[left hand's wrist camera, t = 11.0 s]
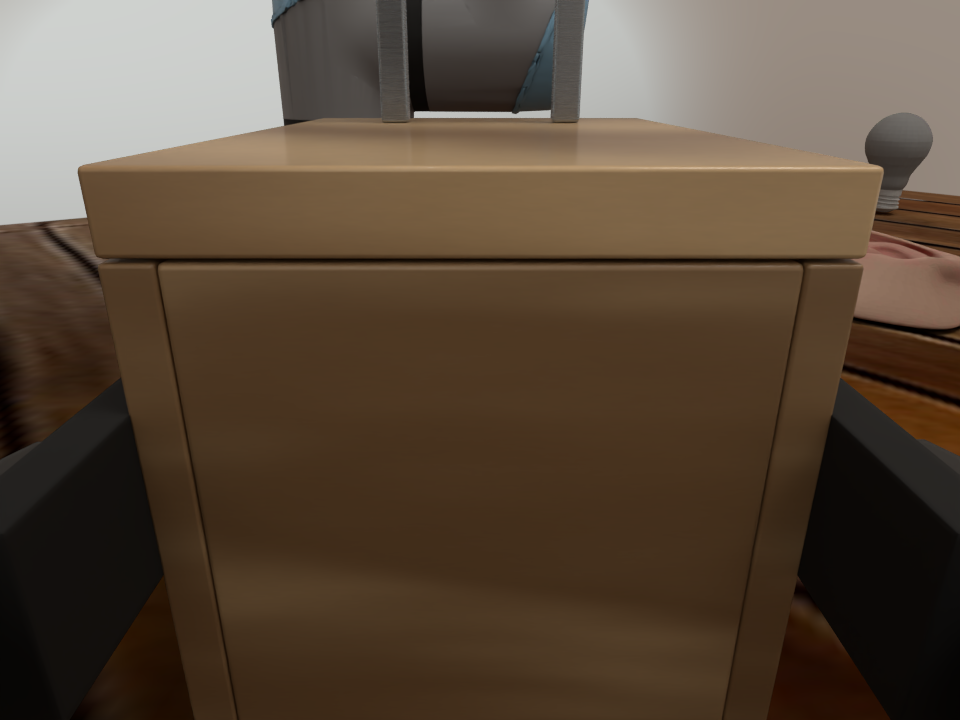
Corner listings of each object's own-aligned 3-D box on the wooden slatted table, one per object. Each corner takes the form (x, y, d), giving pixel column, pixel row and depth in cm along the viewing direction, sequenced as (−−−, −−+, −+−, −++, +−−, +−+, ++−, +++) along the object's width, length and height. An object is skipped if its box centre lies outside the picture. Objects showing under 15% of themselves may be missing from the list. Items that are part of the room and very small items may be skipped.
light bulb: (864, 215, 71) (886, 113, 67) (843, 206, 76) (862, 111, 73) (926, 216, 70) (951, 114, 66) (900, 207, 76) (922, 111, 72)
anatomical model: (1024, 266, 35) (782, 246, 39) (1002, 339, 36) (770, 312, 40) (969, 222, 46) (785, 210, 50) (953, 279, 48) (776, 263, 52)
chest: (344, 468, 24) (318, 161, 20) (615, 469, 24) (641, 161, 20) (216, 832, 12) (93, 264, 8) (744, 832, 12) (867, 264, 8)
